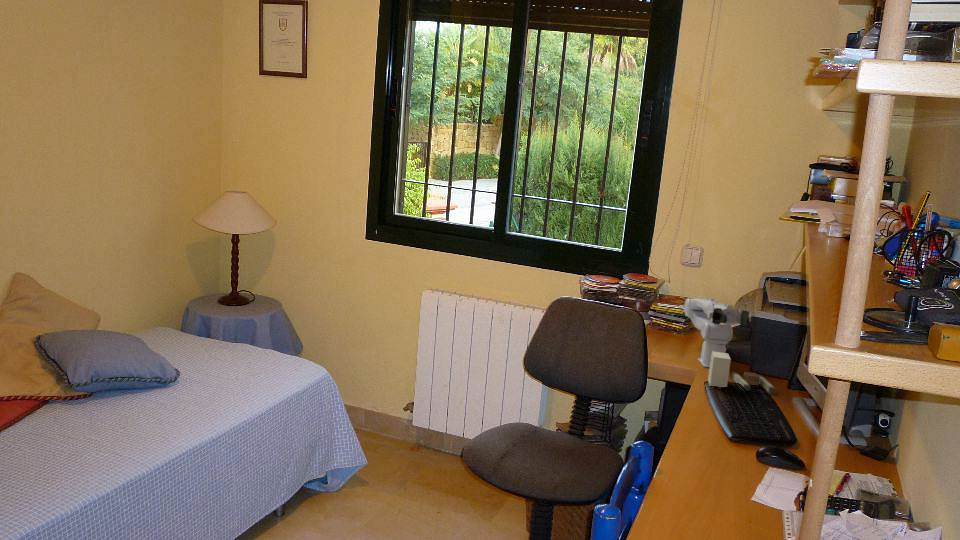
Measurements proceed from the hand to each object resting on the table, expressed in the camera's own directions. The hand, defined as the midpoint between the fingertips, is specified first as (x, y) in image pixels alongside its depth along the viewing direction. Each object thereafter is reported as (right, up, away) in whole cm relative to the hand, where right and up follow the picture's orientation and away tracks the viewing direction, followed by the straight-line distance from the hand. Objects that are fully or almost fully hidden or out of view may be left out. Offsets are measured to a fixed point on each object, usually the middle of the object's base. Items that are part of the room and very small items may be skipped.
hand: (736, 320), depth 271 cm
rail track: (+6, -22, +1) cm, 23 cm away
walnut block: (+6, -22, +4) cm, 23 cm away
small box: (-7, -22, -1) cm, 23 cm away
